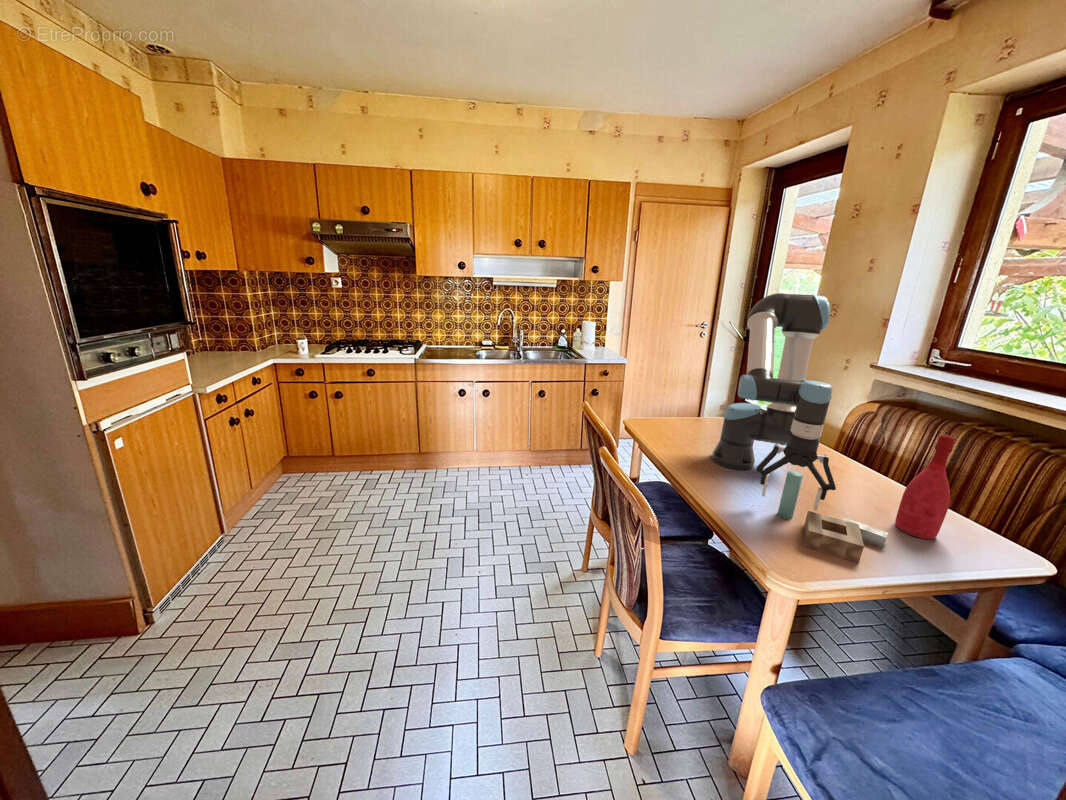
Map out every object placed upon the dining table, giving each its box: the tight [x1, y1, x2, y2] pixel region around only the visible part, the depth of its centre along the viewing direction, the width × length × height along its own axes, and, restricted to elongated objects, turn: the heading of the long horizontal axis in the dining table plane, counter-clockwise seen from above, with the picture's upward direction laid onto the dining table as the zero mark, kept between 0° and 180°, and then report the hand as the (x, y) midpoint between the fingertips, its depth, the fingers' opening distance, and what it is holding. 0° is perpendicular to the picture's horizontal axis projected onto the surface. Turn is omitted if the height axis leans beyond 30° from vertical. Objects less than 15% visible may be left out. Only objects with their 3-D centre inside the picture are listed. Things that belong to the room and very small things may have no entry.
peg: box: [776, 470, 804, 520], centre depth 127 cm, size 4×4×14 cm
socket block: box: [803, 510, 865, 564], centre depth 116 cm, size 12×12×5 cm
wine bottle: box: [894, 434, 956, 540], centre depth 121 cm, size 10×10×30 cm
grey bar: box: [843, 517, 889, 549], centre depth 120 cm, size 10×4×4 cm, turn 44°
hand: (788, 501), depth 128 cm, fingers open, 13 cm apart
